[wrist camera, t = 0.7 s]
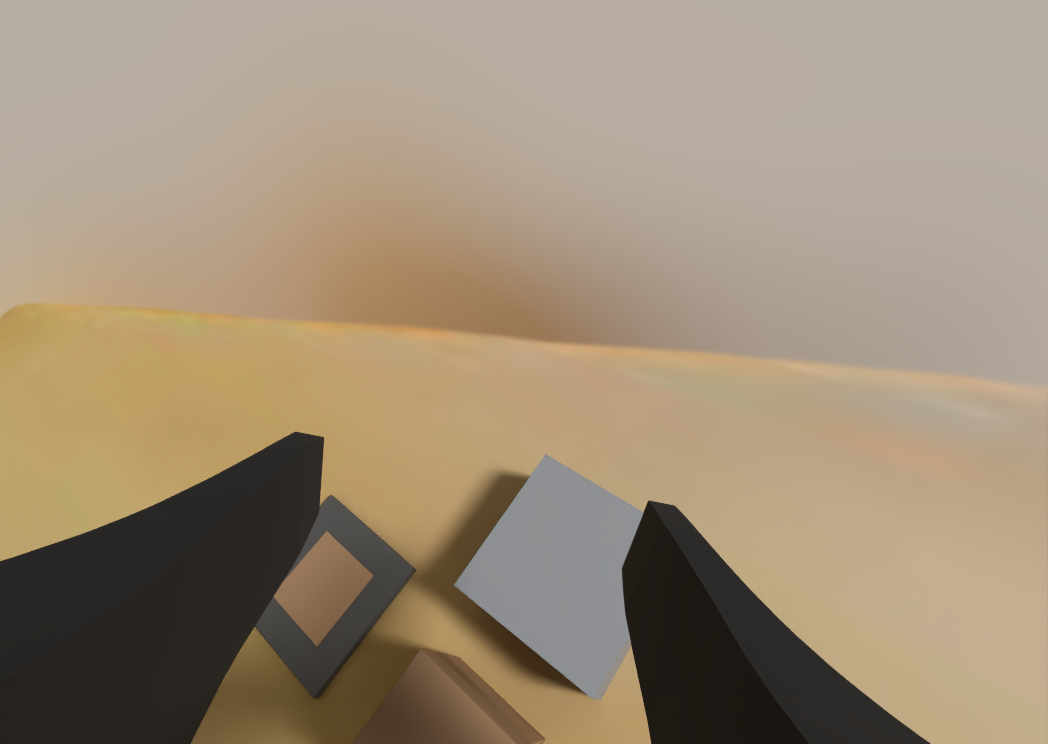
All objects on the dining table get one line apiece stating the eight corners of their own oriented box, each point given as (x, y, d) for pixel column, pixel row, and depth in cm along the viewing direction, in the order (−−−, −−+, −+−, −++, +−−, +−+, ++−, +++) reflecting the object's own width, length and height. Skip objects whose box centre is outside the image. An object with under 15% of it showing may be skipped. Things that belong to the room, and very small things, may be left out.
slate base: (602, 699, 22) (593, 699, 19) (479, 599, 25) (453, 585, 22) (679, 557, 24) (683, 536, 21) (558, 483, 27) (545, 454, 24)
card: (318, 697, 24) (312, 697, 24) (240, 603, 27) (234, 602, 27) (416, 569, 26) (412, 567, 26) (334, 497, 30) (329, 494, 29)
